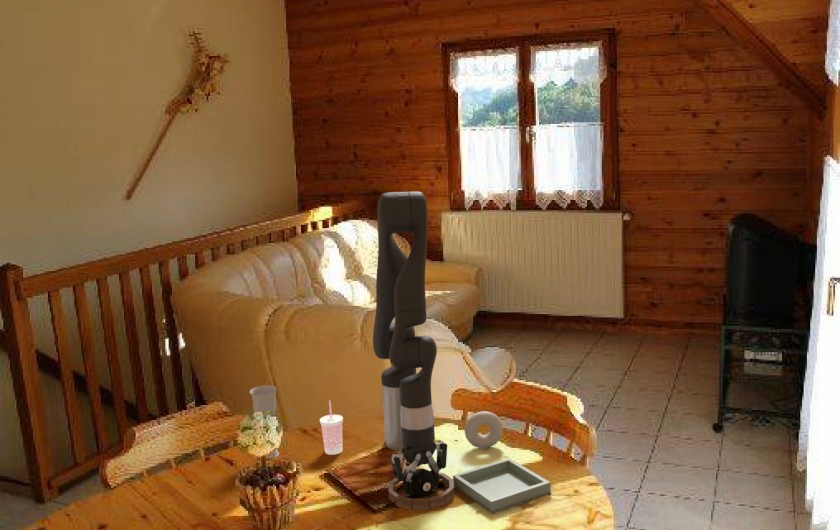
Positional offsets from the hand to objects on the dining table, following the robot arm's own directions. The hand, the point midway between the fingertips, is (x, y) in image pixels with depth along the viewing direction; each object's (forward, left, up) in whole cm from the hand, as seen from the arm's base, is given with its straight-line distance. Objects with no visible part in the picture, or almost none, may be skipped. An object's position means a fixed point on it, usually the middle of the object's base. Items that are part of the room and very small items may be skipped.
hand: (421, 490), depth 187 cm
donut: (-13, +26, -1) cm, 29 cm away
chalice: (-43, -22, -1) cm, 48 cm away
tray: (+9, +16, -1) cm, 18 cm away
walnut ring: (0, 0, -1) cm, 1 cm away
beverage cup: (-35, -7, -1) cm, 36 cm away
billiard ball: (0, 0, -1) cm, 1 cm away
